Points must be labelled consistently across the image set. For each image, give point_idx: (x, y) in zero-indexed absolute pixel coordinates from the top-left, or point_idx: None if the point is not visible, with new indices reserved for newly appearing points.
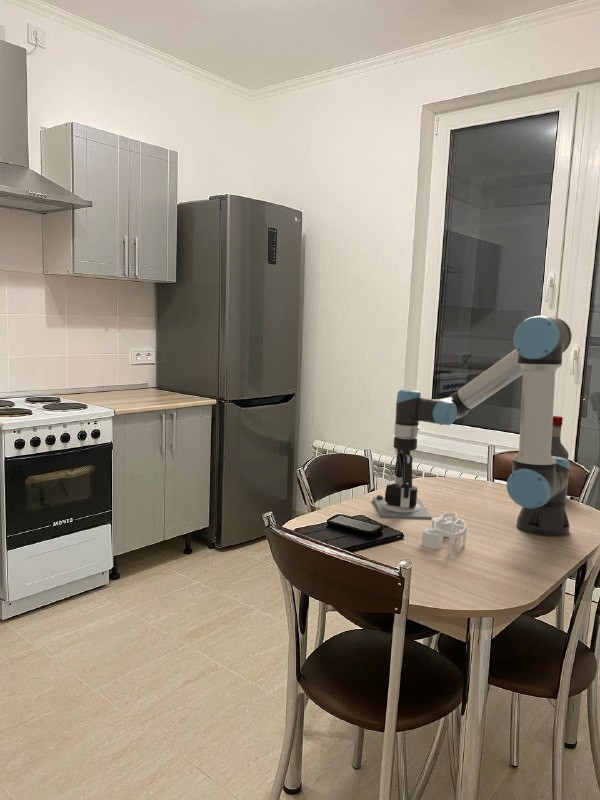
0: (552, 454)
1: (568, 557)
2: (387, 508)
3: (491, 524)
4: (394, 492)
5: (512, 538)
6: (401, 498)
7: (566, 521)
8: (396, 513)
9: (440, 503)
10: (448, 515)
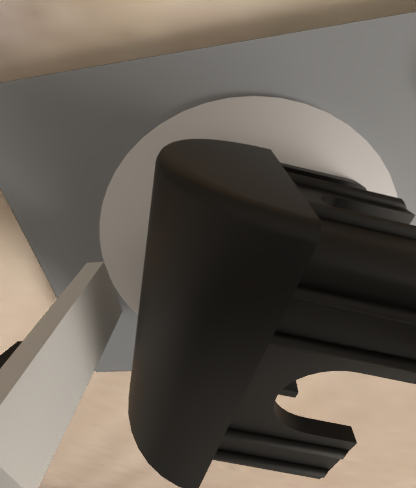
0: None
1: None
2: (134, 153)
3: (158, 474)
4: (148, 280)
5: (59, 481)
6: (46, 314)
7: None
8: (63, 215)
9: (393, 413)
10: None
